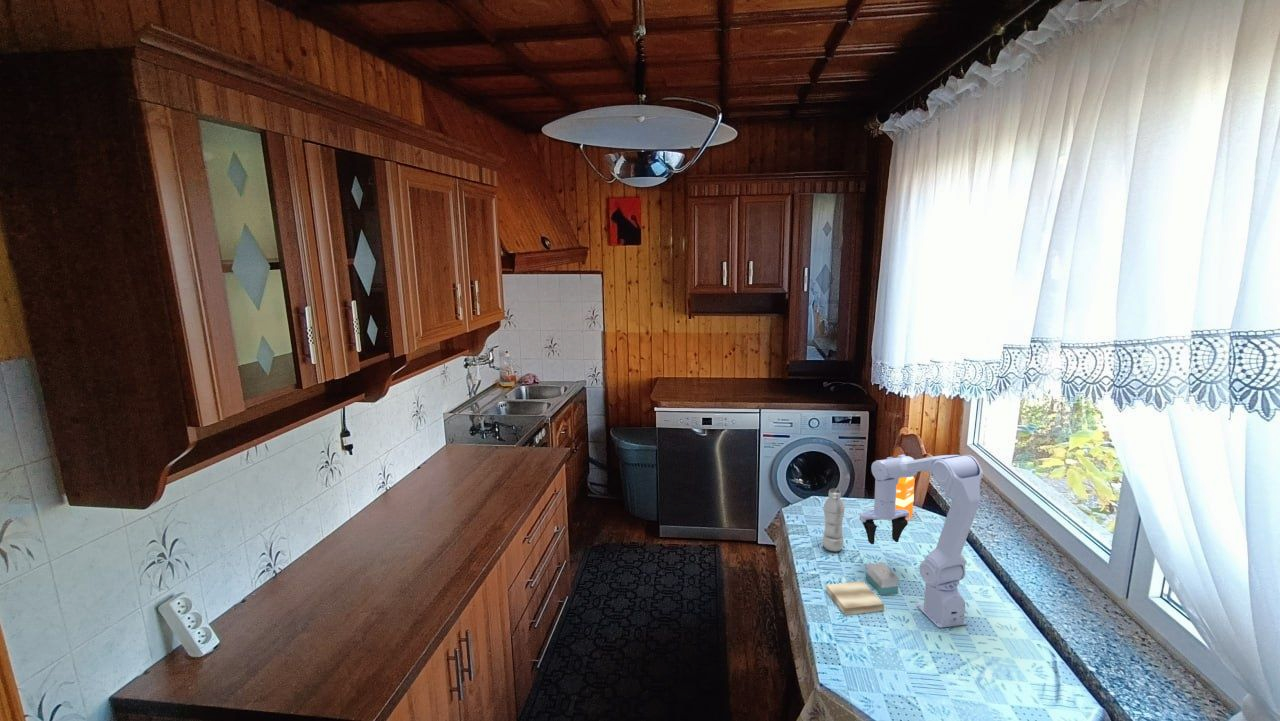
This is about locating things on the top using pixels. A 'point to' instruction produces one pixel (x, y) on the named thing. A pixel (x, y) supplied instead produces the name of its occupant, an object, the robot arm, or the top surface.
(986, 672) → the top surface
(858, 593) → the stand
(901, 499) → the orange juice
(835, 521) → the plastic bottle
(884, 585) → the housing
